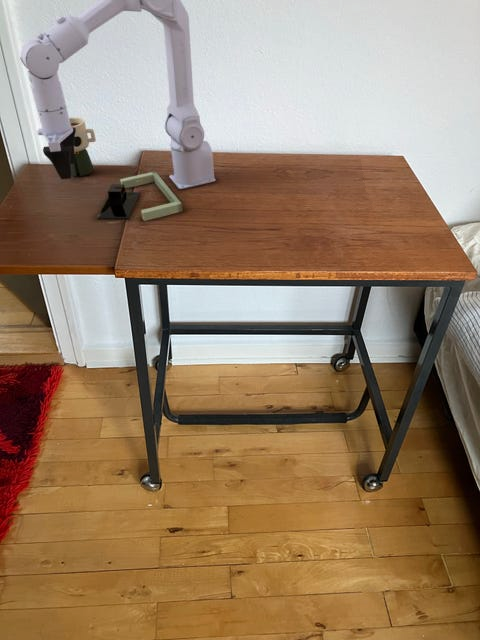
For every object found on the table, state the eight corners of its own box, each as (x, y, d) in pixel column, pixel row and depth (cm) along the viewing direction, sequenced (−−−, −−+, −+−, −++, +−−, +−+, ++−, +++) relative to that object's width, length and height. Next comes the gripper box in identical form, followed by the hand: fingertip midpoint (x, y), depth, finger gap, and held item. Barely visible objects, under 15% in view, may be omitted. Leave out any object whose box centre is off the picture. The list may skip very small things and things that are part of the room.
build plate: (128, 220, 119) (124, 201, 116) (96, 220, 119) (91, 201, 116) (140, 193, 128) (137, 175, 125) (110, 193, 129) (106, 175, 125)
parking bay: (156, 178, 134) (155, 171, 132) (182, 211, 120) (181, 203, 119) (121, 186, 131) (119, 179, 130) (144, 221, 118) (142, 213, 116)
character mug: (57, 179, 135) (43, 128, 127) (64, 167, 141) (51, 117, 132) (99, 178, 135) (88, 126, 127) (105, 166, 141) (94, 116, 132)
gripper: (36, 97, 113) (53, 158, 122) (25, 121, 102) (44, 187, 111) (70, 94, 114) (84, 155, 122) (63, 118, 103) (79, 183, 111)
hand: (68, 170), depth 117 cm, fingers open, 7 cm apart
